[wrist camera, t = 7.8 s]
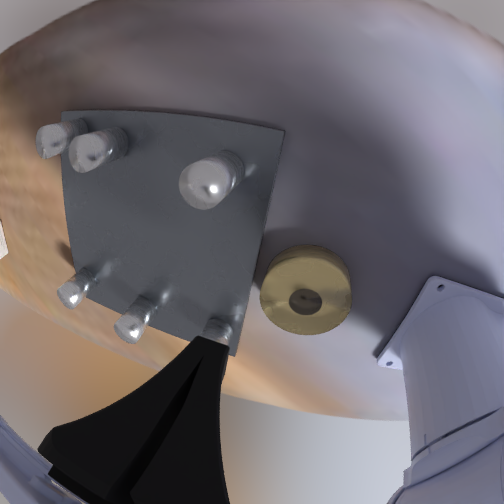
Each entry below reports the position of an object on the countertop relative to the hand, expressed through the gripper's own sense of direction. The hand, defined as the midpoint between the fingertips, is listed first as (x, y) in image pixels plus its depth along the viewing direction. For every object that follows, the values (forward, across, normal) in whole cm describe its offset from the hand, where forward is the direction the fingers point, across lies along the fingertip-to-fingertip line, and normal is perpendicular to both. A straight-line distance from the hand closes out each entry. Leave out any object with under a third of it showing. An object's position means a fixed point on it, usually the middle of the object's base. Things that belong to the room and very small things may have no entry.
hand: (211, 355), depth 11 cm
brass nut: (+7, -3, 0) cm, 8 cm away
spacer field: (+7, +7, 0) cm, 10 cm away
